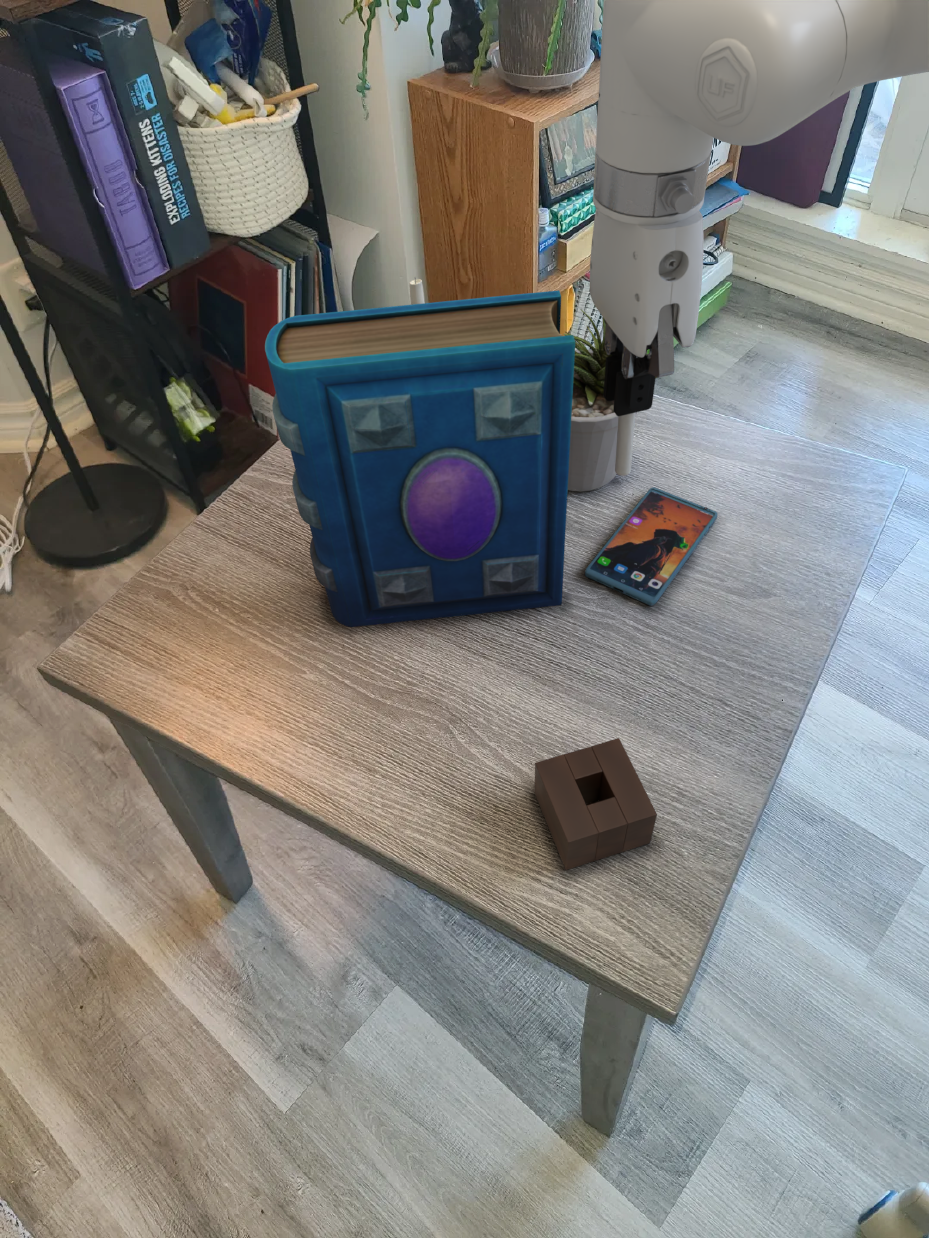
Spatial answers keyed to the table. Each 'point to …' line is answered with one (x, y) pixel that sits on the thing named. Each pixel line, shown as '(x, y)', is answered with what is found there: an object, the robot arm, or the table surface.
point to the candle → (416, 292)
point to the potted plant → (591, 418)
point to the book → (430, 453)
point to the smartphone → (651, 545)
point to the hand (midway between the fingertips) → (627, 402)
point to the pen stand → (600, 825)
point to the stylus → (624, 442)
